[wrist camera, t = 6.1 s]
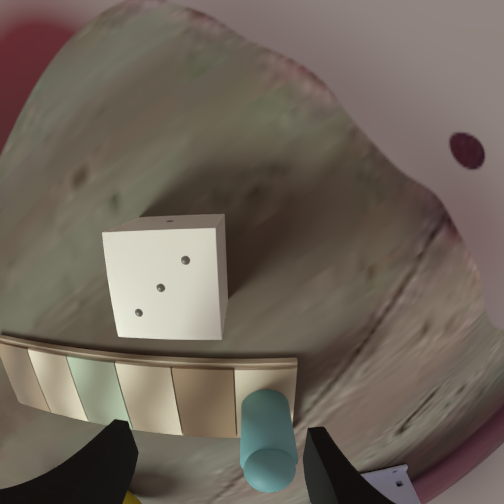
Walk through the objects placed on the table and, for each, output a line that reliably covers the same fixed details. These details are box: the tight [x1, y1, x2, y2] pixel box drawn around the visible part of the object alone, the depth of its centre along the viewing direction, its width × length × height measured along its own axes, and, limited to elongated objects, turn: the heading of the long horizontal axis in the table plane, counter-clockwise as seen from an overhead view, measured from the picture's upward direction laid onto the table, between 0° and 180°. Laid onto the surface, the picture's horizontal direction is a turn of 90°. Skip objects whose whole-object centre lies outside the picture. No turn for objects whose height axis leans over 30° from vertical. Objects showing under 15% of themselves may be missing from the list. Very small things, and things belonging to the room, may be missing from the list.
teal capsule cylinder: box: [240, 390, 298, 492], centre depth 16 cm, size 3×3×7 cm
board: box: [0, 335, 298, 438], centre depth 20 cm, size 24×7×1 cm, turn 90°
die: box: [102, 214, 228, 340], centre depth 16 cm, size 5×5×5 cm
